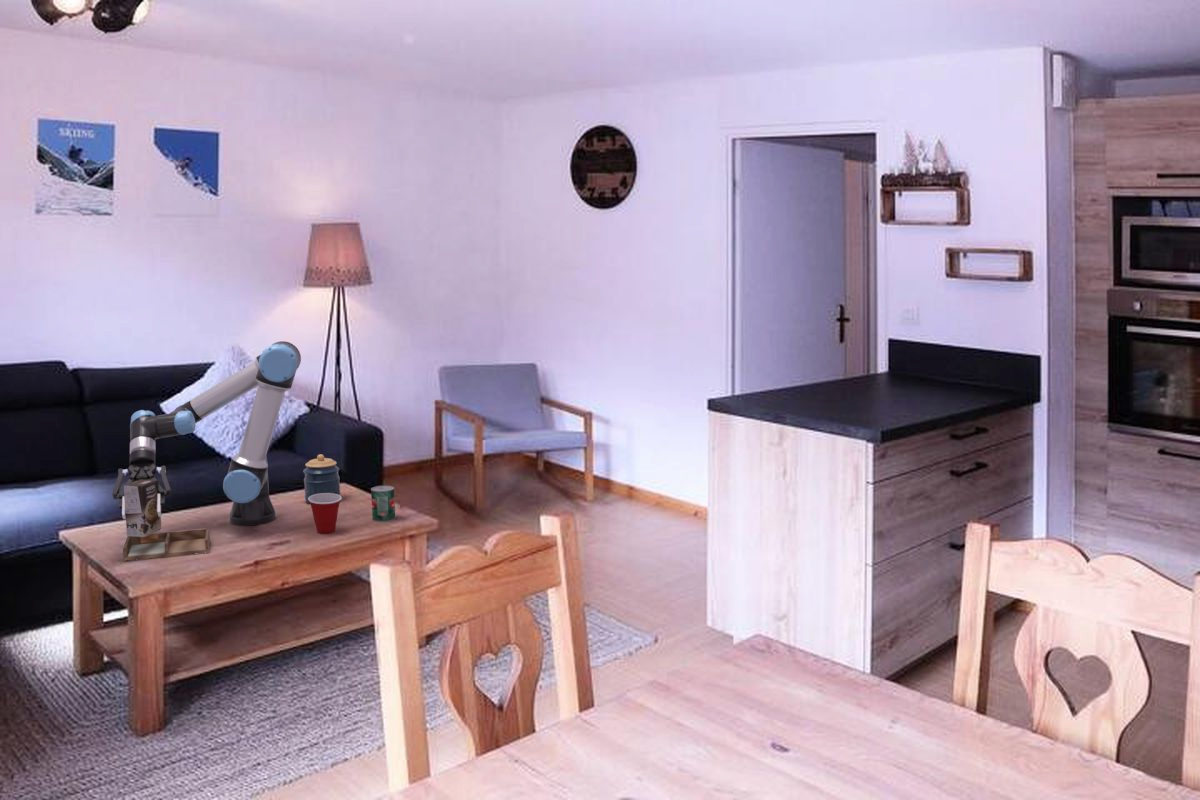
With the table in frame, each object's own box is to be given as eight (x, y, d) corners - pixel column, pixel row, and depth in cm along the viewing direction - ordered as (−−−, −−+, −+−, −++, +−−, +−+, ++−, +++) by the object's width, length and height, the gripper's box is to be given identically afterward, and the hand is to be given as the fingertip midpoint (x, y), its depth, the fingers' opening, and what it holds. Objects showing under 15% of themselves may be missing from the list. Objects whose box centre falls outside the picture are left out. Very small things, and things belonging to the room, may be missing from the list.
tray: (209, 540, 329) (209, 528, 329) (208, 552, 316) (207, 539, 316) (128, 548, 321) (127, 535, 321) (124, 561, 308) (123, 548, 308)
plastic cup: (321, 538, 331) (319, 502, 329) (303, 532, 338) (301, 497, 336) (349, 531, 339) (348, 496, 337) (331, 525, 346) (329, 491, 344)
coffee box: (145, 537, 311) (141, 486, 308) (126, 536, 312) (122, 485, 309) (162, 529, 320) (159, 479, 317) (144, 528, 321) (140, 478, 318)
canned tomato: (399, 519, 352) (398, 488, 351) (378, 523, 348) (376, 492, 346) (389, 514, 359) (388, 484, 357) (368, 518, 354) (367, 487, 352)
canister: (321, 506, 370) (319, 459, 367) (297, 502, 377) (294, 455, 374) (348, 499, 381) (346, 453, 378) (324, 494, 388) (322, 449, 385)
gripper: (180, 458, 330) (181, 518, 318) (106, 463, 323) (103, 524, 311) (178, 445, 325) (179, 506, 312) (103, 450, 317) (100, 512, 305)
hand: (141, 515), depth 312 cm, fingers closed on coffee box, 9 cm apart
